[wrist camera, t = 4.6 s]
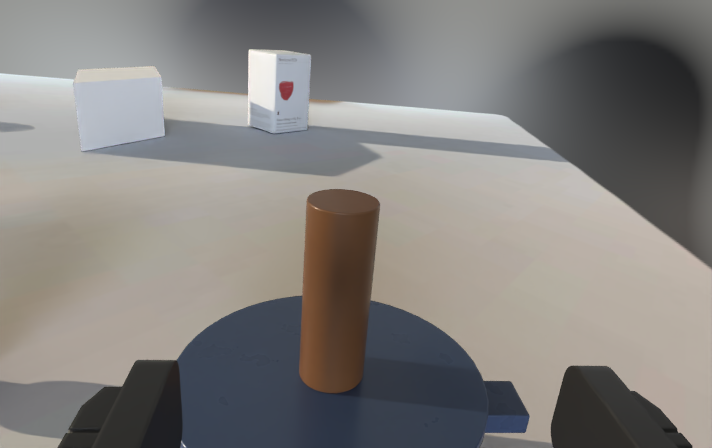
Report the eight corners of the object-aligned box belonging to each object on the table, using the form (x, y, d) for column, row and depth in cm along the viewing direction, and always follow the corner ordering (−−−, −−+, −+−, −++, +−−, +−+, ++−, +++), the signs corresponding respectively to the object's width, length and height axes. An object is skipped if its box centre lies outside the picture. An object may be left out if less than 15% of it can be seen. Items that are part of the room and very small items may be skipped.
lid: (202, 310, 29) (196, 147, 25) (442, 315, 30) (467, 162, 27) (120, 540, 16) (86, 279, 13) (536, 531, 18) (605, 294, 14)
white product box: (273, 134, 101) (275, 53, 96) (246, 125, 107) (246, 48, 101) (309, 130, 107) (312, 54, 102) (281, 122, 113) (283, 49, 107)
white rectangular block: (192, 121, 107) (190, 69, 103) (128, 155, 80) (122, 87, 76) (122, 114, 107) (118, 63, 103) (34, 147, 80) (24, 78, 76)
